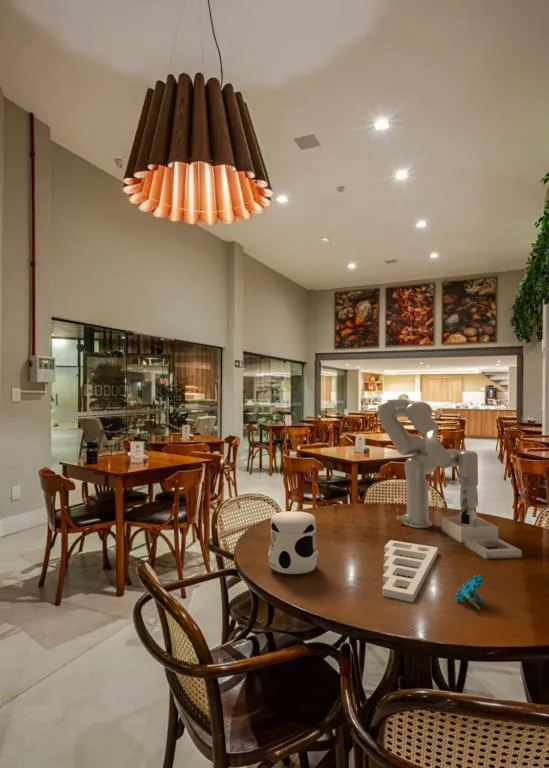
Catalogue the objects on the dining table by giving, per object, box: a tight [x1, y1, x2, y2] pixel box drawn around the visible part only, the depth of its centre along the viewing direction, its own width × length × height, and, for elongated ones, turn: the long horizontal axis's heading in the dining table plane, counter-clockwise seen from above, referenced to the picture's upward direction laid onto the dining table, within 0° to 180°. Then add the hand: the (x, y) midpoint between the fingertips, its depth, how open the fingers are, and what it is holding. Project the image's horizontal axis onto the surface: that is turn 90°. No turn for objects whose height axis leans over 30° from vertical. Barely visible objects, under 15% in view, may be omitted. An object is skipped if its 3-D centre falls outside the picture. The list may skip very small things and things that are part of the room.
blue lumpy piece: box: [454, 574, 485, 611], centre depth 129 cm, size 11×6×10 cm
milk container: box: [267, 510, 320, 577], centre depth 153 cm, size 17×17×18 cm
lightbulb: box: [459, 509, 477, 527], centre depth 188 cm, size 6×6×11 cm
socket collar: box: [464, 537, 523, 560], centre depth 170 cm, size 14×14×2 cm
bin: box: [441, 515, 499, 544], centre depth 188 cm, size 16×16×6 cm
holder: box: [381, 539, 439, 603], centre depth 153 cm, size 45×18×3 cm, turn 151°
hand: (468, 521), depth 188 cm, fingers open, 9 cm apart
